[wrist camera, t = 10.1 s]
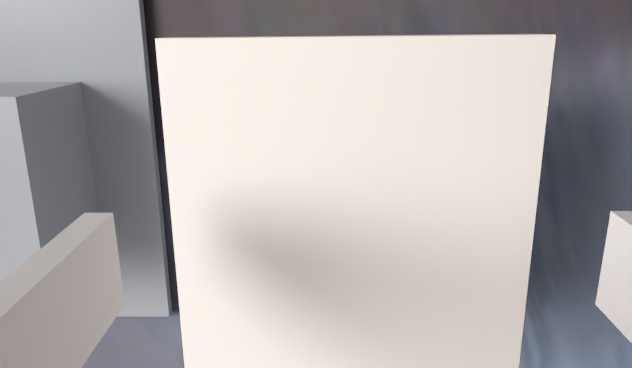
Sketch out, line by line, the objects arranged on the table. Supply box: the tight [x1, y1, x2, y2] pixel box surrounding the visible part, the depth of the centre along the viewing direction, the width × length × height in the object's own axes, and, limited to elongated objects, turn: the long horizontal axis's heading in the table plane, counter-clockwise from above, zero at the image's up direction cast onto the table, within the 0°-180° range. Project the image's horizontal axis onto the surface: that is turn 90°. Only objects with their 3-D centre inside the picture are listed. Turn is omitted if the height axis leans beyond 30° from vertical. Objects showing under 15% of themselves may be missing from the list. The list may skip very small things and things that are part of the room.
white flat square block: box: [155, 34, 556, 368], centre depth 19 cm, size 12×12×2 cm
